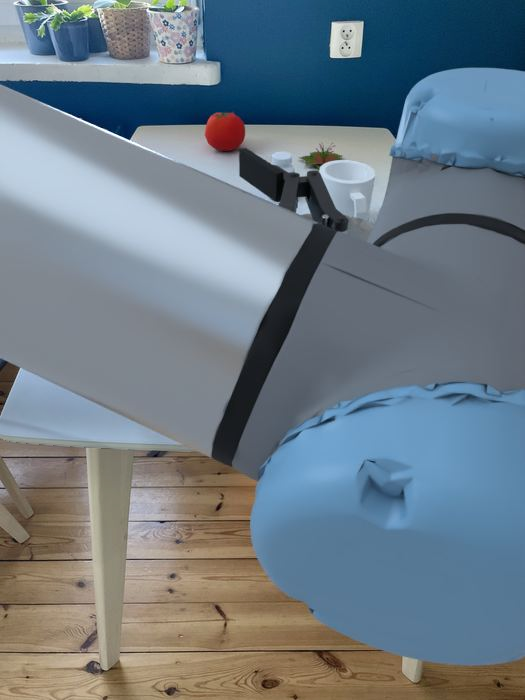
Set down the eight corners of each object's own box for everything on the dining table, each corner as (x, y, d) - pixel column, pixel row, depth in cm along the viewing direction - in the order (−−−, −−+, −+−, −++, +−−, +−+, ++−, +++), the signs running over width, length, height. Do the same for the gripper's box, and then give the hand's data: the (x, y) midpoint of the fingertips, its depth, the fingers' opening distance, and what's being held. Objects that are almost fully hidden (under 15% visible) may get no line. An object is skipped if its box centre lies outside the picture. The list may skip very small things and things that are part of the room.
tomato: (252, 146, 134) (252, 110, 128) (228, 159, 127) (227, 123, 122) (221, 138, 137) (220, 103, 132) (197, 151, 131) (194, 115, 125)
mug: (383, 241, 100) (394, 187, 93) (333, 249, 98) (339, 194, 91) (353, 208, 110) (360, 157, 103) (306, 215, 108) (311, 163, 100)
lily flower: (288, 159, 128) (289, 140, 125) (328, 149, 133) (330, 130, 130) (319, 178, 120) (321, 158, 117) (360, 166, 125) (363, 147, 122)
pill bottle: (279, 188, 116) (280, 147, 110) (298, 196, 114) (300, 154, 108) (263, 197, 113) (263, 155, 107) (282, 205, 111) (284, 162, 105)
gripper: (157, 399, 34) (56, 249, 47) (434, 281, 45) (287, 185, 58) (142, 305, 29) (33, 166, 42) (457, 197, 40) (291, 112, 53)
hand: (179, 177), depth 50 cm, fingers open, 13 cm apart
